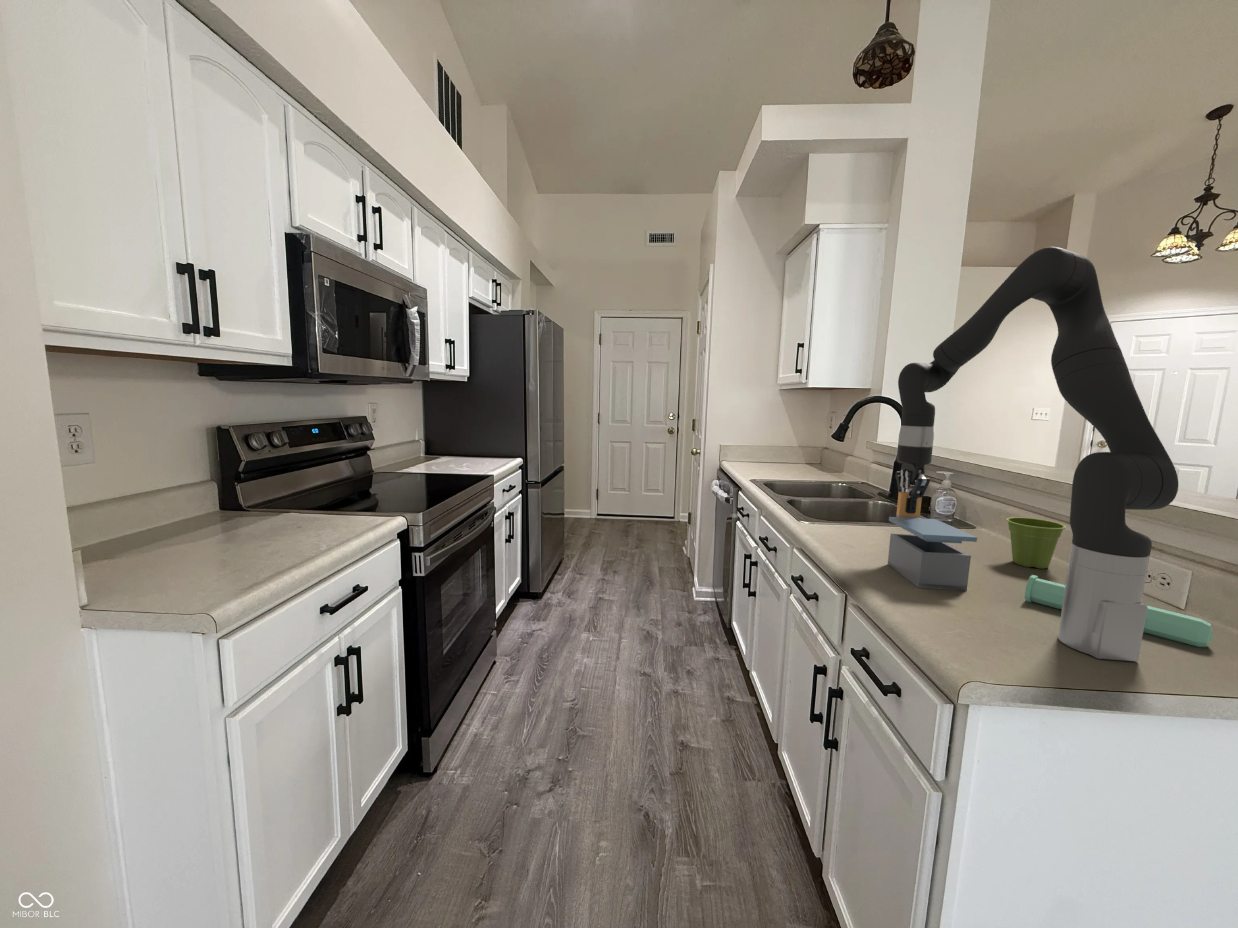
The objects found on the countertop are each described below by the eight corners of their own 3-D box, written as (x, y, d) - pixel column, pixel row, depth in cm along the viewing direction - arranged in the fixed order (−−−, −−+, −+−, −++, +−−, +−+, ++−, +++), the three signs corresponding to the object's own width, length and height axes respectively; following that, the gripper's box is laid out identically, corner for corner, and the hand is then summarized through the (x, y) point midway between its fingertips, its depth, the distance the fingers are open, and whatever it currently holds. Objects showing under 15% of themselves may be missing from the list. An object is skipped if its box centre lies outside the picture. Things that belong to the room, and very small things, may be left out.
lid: (976, 546, 106) (980, 510, 105) (922, 543, 107) (926, 507, 106) (928, 524, 126) (931, 493, 125) (883, 521, 127) (886, 491, 126)
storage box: (966, 590, 108) (970, 555, 107) (918, 587, 109) (922, 552, 108) (929, 566, 124) (932, 535, 123) (887, 564, 125) (890, 533, 124)
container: (1218, 613, 85) (1034, 569, 104) (1213, 633, 82) (1024, 584, 101) (1212, 639, 87) (1033, 591, 106) (1207, 660, 84) (1024, 607, 103)
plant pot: (1007, 554, 136) (1012, 514, 135) (1064, 566, 127) (1070, 523, 126) (995, 562, 129) (1000, 520, 127) (1054, 575, 120) (1061, 530, 118)
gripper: (946, 447, 116) (938, 519, 118) (917, 442, 129) (911, 507, 132) (912, 446, 117) (905, 517, 119) (887, 441, 130) (881, 505, 132)
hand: (908, 511), depth 125 cm, fingers closed on lid, 1 cm apart
